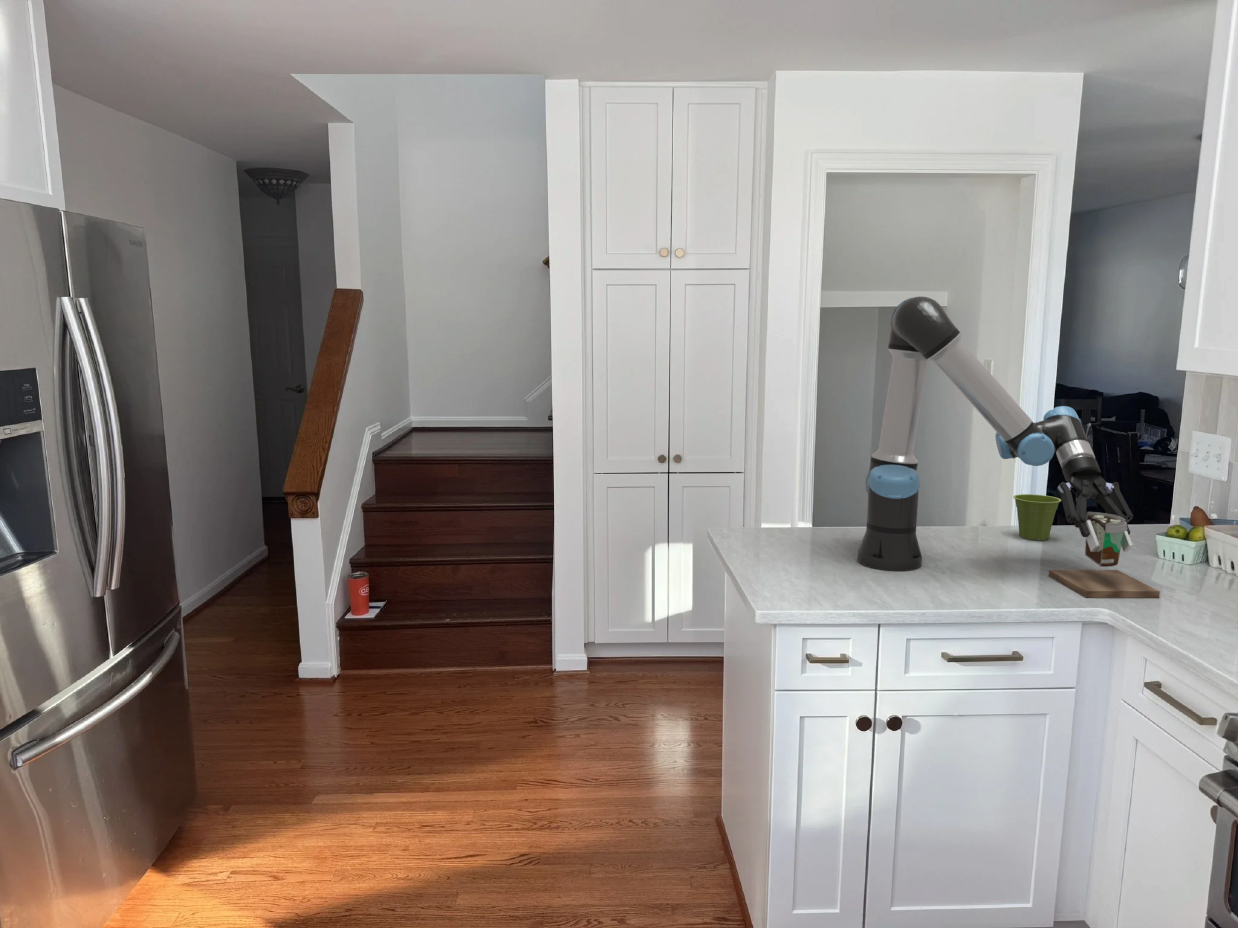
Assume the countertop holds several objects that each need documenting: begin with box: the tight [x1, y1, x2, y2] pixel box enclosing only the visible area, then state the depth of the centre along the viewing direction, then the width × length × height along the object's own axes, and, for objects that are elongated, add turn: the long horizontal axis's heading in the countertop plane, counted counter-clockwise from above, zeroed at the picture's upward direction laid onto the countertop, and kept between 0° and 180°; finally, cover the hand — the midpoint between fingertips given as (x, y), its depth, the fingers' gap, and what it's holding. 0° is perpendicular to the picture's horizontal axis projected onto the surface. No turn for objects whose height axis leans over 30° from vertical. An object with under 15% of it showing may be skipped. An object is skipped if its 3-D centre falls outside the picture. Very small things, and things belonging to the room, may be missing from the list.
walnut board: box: [1048, 569, 1161, 599], centre depth 194 cm, size 16×16×2 cm
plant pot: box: [1012, 493, 1062, 541], centre depth 236 cm, size 12×12×11 cm
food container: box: [1084, 511, 1128, 568], centre depth 192 cm, size 12×6×10 cm, turn 171°
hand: (1111, 548), depth 191 cm, fingers closed on food container, 7 cm apart
